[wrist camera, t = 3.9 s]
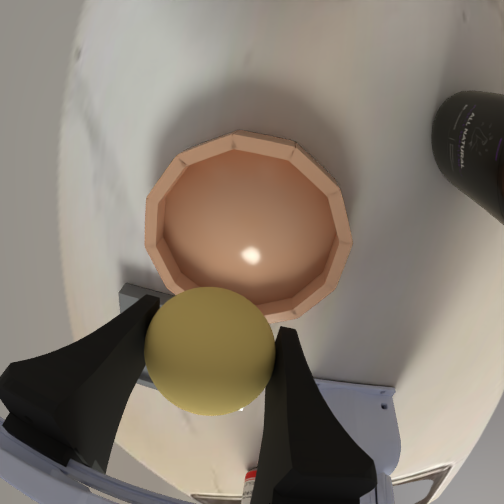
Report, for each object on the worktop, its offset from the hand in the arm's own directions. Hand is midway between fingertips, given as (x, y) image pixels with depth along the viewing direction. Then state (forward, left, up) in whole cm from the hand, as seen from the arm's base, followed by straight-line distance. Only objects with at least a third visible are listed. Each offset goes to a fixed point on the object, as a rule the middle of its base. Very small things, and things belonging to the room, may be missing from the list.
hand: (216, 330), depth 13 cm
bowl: (0, 0, -9) cm, 9 cm away
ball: (0, 0, -1) cm, 1 cm away
